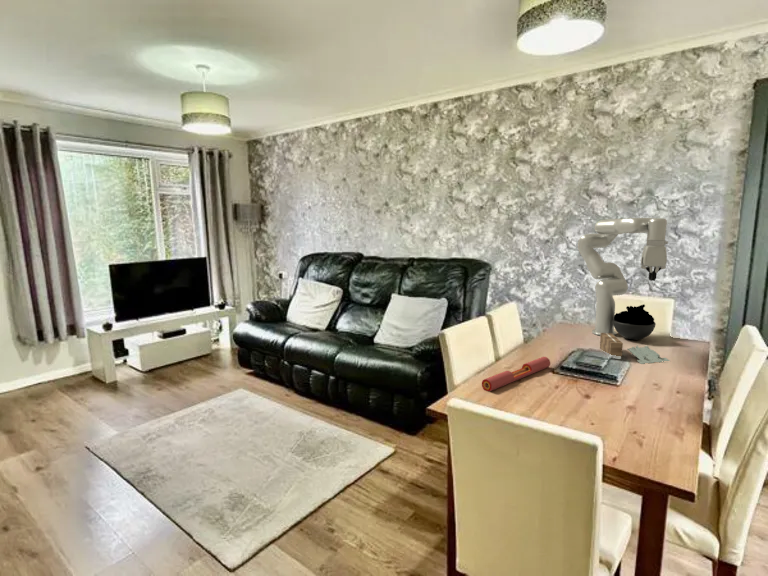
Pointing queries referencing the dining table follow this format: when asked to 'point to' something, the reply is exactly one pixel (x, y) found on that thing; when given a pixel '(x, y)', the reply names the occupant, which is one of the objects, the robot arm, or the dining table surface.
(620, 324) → the bowl of black rocks
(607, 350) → the block
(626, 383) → the dining table surface
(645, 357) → the metal bracket
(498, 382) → the blood vessel
